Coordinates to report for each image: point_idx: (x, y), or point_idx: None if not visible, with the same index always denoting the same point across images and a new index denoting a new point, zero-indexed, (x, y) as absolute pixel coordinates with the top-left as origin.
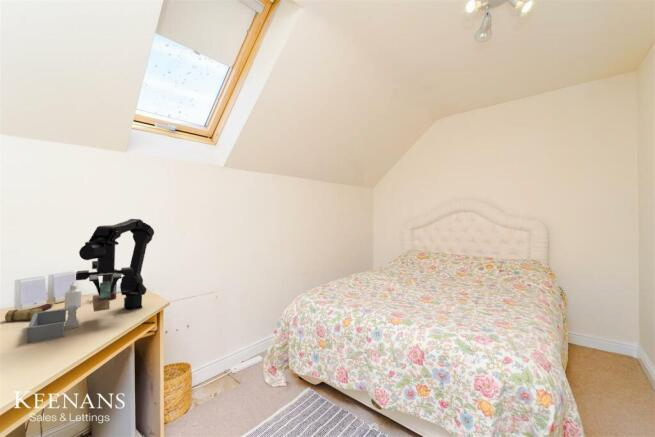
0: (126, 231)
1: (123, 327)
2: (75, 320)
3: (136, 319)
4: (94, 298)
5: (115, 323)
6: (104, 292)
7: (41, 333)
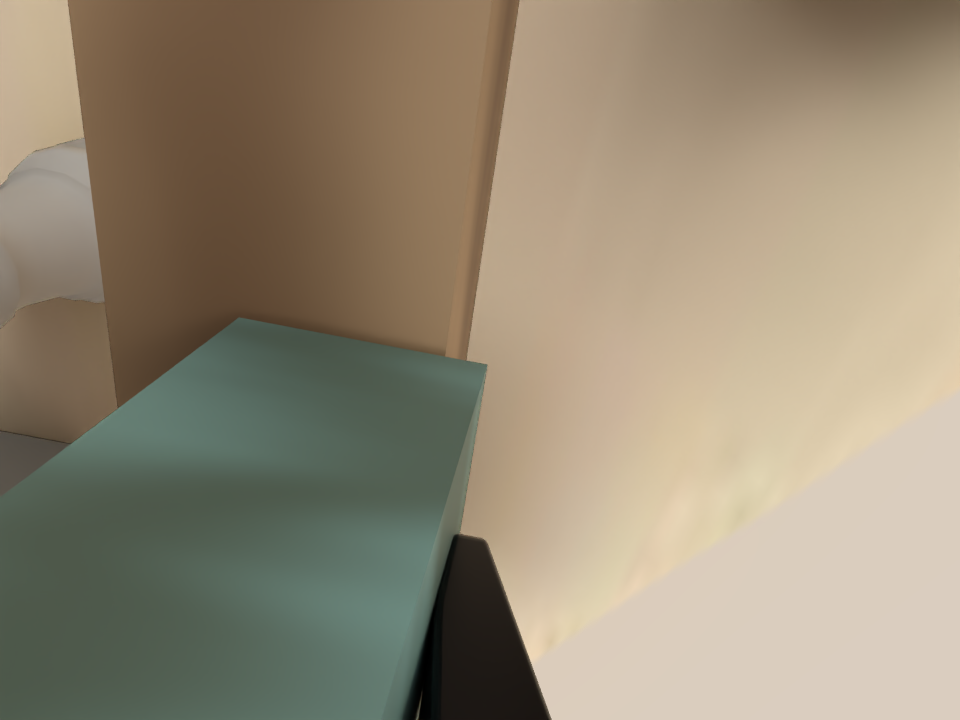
0: None
1: (564, 601)
2: (97, 282)
3: (780, 462)
4: (135, 328)
5: (542, 435)
6: None
7: None
